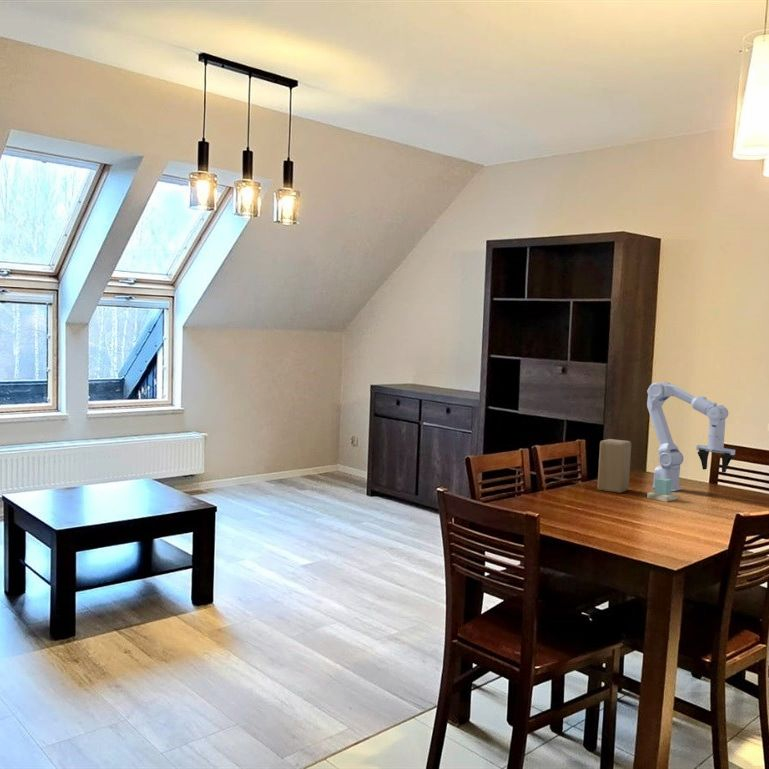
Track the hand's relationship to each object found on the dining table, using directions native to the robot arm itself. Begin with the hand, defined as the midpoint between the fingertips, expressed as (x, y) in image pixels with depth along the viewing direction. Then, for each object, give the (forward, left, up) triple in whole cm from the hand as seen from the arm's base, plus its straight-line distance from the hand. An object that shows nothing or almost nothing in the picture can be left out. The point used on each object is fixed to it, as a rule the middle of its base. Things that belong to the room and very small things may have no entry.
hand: (714, 470), depth 302 cm
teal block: (-10, -21, -8) cm, 25 cm away
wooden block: (-30, -23, -11) cm, 39 cm away
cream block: (-10, -21, -10) cm, 25 cm away
